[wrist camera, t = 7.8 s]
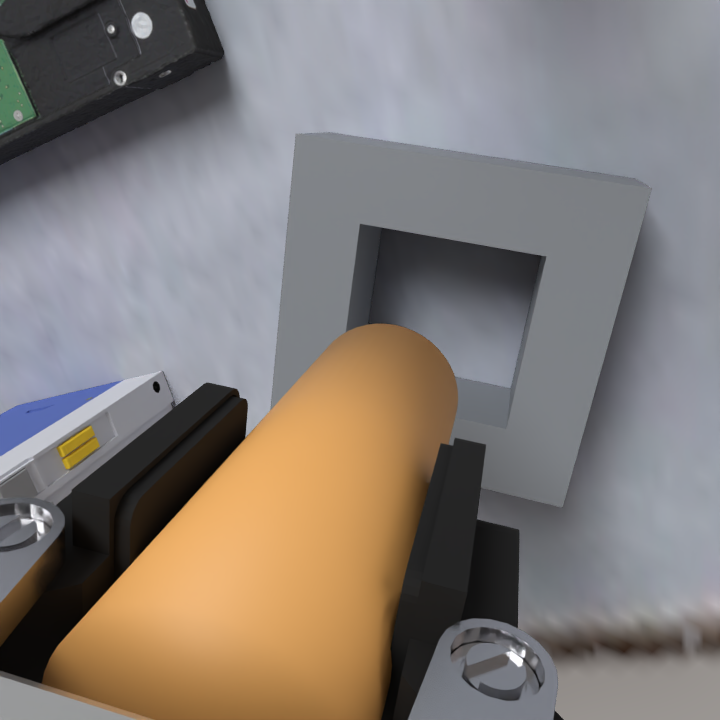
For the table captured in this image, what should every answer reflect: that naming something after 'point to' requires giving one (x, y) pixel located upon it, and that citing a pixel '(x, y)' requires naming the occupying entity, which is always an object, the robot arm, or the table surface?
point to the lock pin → (282, 554)
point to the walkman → (75, 434)
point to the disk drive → (91, 60)
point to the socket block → (478, 226)
